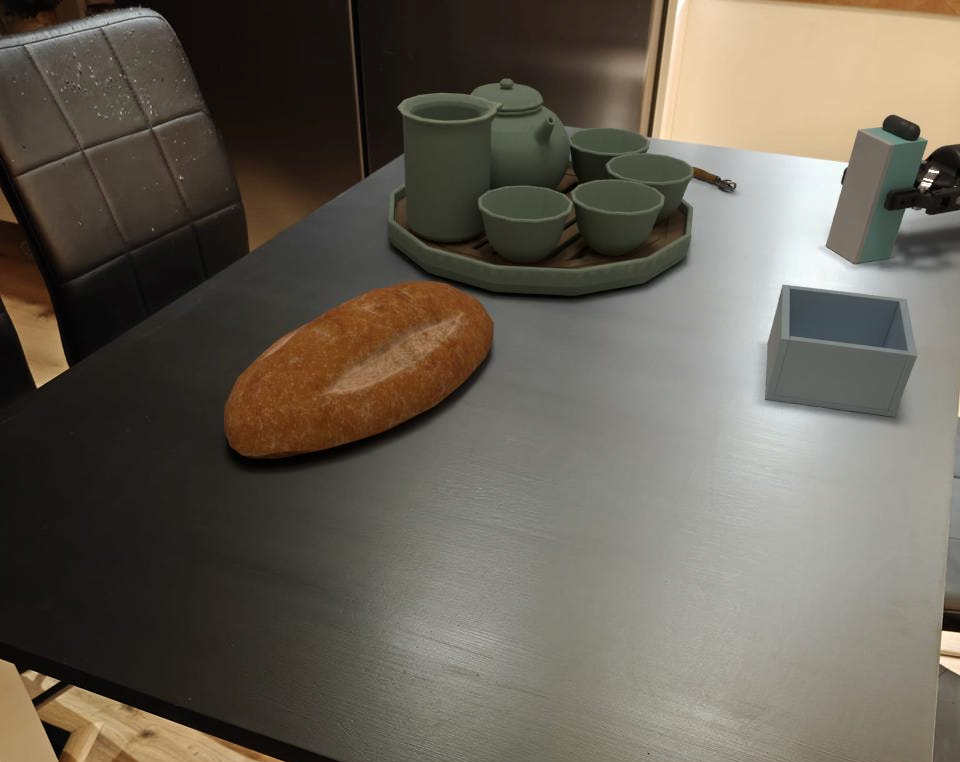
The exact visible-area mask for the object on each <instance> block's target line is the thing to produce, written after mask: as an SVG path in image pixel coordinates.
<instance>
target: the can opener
mask: <svg viewBox="0 0 960 762" xmlns="http://www.w3.org/2000/svg"><path fill="white" fill-rule="evenodd" d="M692 167H693V168H694V174H693V177H696V178H699V179H701V180H706V181H709V182H711V183H713V184H718V186H719V187H720V188H723V189H725V190H729V191H730V190H731V191H735V190H737V189H736V188H737V182H735V181H733V182H732V180H731V179H722V178H721V177H720V176H719V175H715V174H713V173H710V172H708V171H706V170H704V169H702V168H699V167H696V166H692Z"/></svg>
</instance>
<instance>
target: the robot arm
mask: <svg viewBox="0 0 960 762" xmlns="http://www.w3.org/2000/svg"><path fill="white" fill-rule="evenodd" d="M847 168H848V166H846V167H845V168H844V170H843V173H842V175H841V176H842V177H841V180H840V185H841V186H842V185H843V182H844V178H845V175H846V171H847ZM884 209H886V210H888V211H893V210H900V209H905V210H906V209H911V210H913V211H921V210H922V209H925V211H924V213H925V214H926V215H928V216H937V215H941V214H947V213H953V212H958V211H960V143H956V144H948V145H947V144H946V145H941V146H940V147H938V148H935V150H933V151H932V152H931V153H930V154H929V155H928V156H927V157H926V158H925V159H922V161H921V164H920V167H919V170H918V173H917V176H916V179H915V182H914V185H913V187H911V188H903V189H896V190H891V191H889V192H888V194H887V197H886V200H885V203H884Z"/></svg>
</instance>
